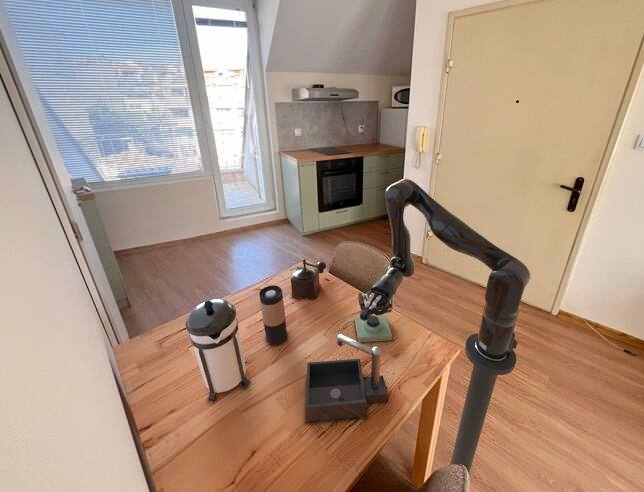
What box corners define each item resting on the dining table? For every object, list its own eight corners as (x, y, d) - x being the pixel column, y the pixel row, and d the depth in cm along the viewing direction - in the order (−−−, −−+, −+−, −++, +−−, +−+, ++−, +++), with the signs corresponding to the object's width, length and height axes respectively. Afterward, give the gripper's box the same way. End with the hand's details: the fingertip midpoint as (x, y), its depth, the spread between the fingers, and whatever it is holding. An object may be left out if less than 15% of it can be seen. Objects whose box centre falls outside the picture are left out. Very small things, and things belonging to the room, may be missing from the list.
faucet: (380, 382, 85) (382, 346, 79) (377, 390, 83) (378, 353, 77) (340, 362, 91) (339, 328, 86) (335, 369, 89) (334, 333, 84)
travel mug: (264, 332, 108) (257, 288, 100) (285, 327, 110) (280, 283, 102) (267, 348, 101) (260, 301, 93) (289, 341, 104) (284, 296, 95)
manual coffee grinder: (291, 298, 125) (287, 262, 118) (298, 283, 135) (295, 249, 128) (326, 301, 123) (325, 265, 116) (331, 286, 133) (330, 251, 126)
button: (377, 318, 108) (377, 315, 108) (379, 326, 105) (379, 323, 104) (366, 319, 108) (366, 315, 107) (368, 327, 105) (368, 323, 104)
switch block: (385, 320, 113) (386, 311, 111) (391, 340, 104) (392, 331, 102) (355, 322, 112) (355, 313, 110) (358, 342, 103) (358, 333, 101)
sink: (380, 370, 92) (380, 356, 90) (389, 415, 80) (391, 400, 77) (308, 376, 91) (307, 362, 88) (306, 422, 78) (305, 407, 76)
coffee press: (263, 364, 95) (250, 288, 83) (230, 410, 81) (209, 327, 69) (220, 350, 101) (202, 277, 88) (182, 390, 87) (155, 311, 75)
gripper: (368, 274, 106) (344, 301, 92) (403, 285, 100) (382, 316, 86) (367, 291, 109) (344, 319, 96) (401, 303, 103) (381, 335, 89)
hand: (362, 318), depth 91 cm, fingers closed
